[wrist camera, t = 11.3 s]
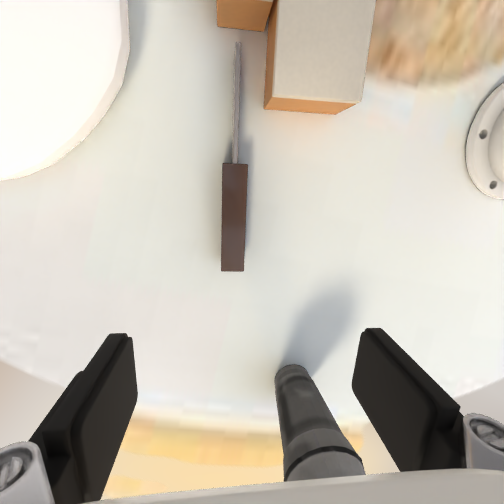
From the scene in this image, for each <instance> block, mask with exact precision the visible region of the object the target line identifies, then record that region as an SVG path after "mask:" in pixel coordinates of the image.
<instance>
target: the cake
mask: <svg viewBox="0 0 504 504" xmlns="http://www.w3.org/2000/svg"><path fill="white" fill-rule="evenodd" d="M375 4H376V0H273V3H272V6H271V9H270V13H269V20H268V39H267V58H266V77H265V96H264V109H269V110H283V111H296V112H309V113H322V114H337V113H339V112H341V111H343V110H345V109H347V108H349V107H351V106H353V105H355V104H357V103H359V102H361V99H362V93H363V86H364V79H365V72H366V65H367V58H368V52H369V45H370V38H371V31H372V24H373V18H374V11H375Z"/></svg>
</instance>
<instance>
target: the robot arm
mask: <svg viewBox="0 0 504 504" xmlns="http://www.w3.org/2000/svg"><path fill="white" fill-rule="evenodd" d="M466 164H467V168H468V173H469V175H470V177H471V179H472V181H473V183H474V184H475V185H476V187H477V188H478V189H479V190H480V191H482V192H483V193H484V194H485V195H488V196H490V197H492V198H496V199H503V200H504V83H503V84H501V85H500V86H499V87H498V88H497V89H495V90H494V91H493V92H492V94H491V95H490V96H489V97H488V98H487V99H486V100H485V102H484V103H483V105H482V106H481V108H480V109H479V111H478V112H477V114H476V117H475V119H474V121H473V123H472V125H471V128H470V132H469V135H468V138H467V146H466ZM352 390H353V392H354V394H355V396H356V398H357V399H358V401H359V403H360V404H361V406H362V408H363V409H364V411H365V413H366V414H367V416H368V418H369V419H370V421H371V423H372V425H373V426H374V428H375V430H376V431H377V433H378V435H379V436H380V438H381V440H382V441H383V443H384V444H385V446H386V448H387V450H388V452H389V453H390V455H391V457H392V458H393V460H394V462H395V463H396V465H397V467H398V469H399V470H400V472H395V473H382V474H370V475H358V476H345V477H333V478H322V479H310V480H299V481H288V482H276V483H265V484H254V485H243V486H232V487H222V488H212V489H201V490H190V491H180V492H169V493H159V494H150V495H141V496H133V497H124V498H115V499H107V500H100V499H101V497H102V494H103V491H104V488H105V486H106V483H107V480H108V478H109V475H110V472H111V470H112V467H113V464H114V462H115V459H116V456H117V454H118V451H119V448H120V445H121V443H122V440H123V437H124V435H125V432H126V429H127V427H128V424H129V421H130V419H131V416H132V413H133V411H134V408H135V405H136V402H137V396H138V392H137V382H136V371H135V361H134V351H133V341H132V337H128V336H127V334H126V333H115V334H109V335H108V336H107V338H106V339H105V341H104V342H103V344H102V345H101V347H100V348H99V349H98V351H97V352H96V354H95V355H94V357H93V358H92V359H91V361H90V362H89V364H88V365H87V367H86V368H85V370H84V371H80V372H79V373H77V375H76V376H75V377H74V378H73V380H72V381H71V382H70V384H69V385H68V387H67V388H66V389H65V391H64V392H63V394H62V395H61V396H60V398H59V399H58V400H57V402H56V403H55V405H54V406H53V407H52V409H51V410H50V412H49V413H48V414H47V416H46V417H45V419H44V420H43V421H42V423H41V424H40V426H39V427H38V428H37V430H36V431H35V432H34V434H33V435H32V437H31V438H30V440H29V441H28V442H18V443H13V444H10V445H8V446H5V447H3V448H1V449H0V504H504V425H503V424H502V423H500V422H499V421H497V420H494V419H492V418H490V417H488V416H484V415H482V414H476V413H471V414H467V415H465V416H463V415H462V414H461V413H460V412H459V410H460V406H459V405H458V404H457V403H456V402H455V401H454V400H453V399H452V398H451V397H450V396H449V395H448V394H447V393H446V392H445V391H444V390H443V389H442V388H441V387H440V386H439V385H438V384H437V383H436V382H435V381H434V380H433V379H432V378H431V377H430V376H429V375H428V374H427V373H426V372H425V371H424V370H423V369H422V368H421V367H420V366H419V365H418V364H417V363H416V362H415V361H414V360H413V359H412V358H411V357H410V356H409V355H408V354H407V353H406V352H405V351H404V350H403V349H402V348H401V347H400V346H399V345H398V344H397V343H396V342H395V341H394V340H393V339H392V338H391V337H390V336H389V335H388V334H387V333H386V332H385V331H384V330H383V329H381V328H367V329H365V331H364V332H362V333H361V337H360V342H359V347H358V353H357V358H356V363H355V368H354V374H353V379H352Z"/></svg>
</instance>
